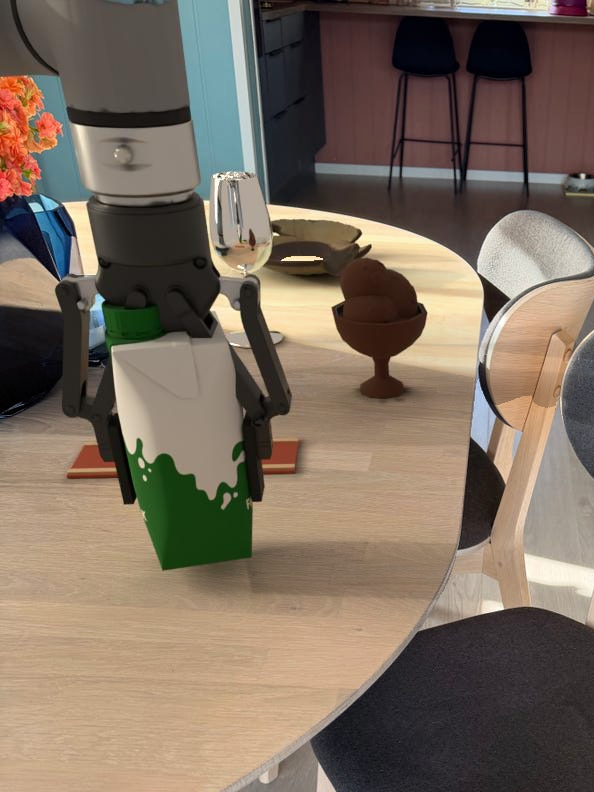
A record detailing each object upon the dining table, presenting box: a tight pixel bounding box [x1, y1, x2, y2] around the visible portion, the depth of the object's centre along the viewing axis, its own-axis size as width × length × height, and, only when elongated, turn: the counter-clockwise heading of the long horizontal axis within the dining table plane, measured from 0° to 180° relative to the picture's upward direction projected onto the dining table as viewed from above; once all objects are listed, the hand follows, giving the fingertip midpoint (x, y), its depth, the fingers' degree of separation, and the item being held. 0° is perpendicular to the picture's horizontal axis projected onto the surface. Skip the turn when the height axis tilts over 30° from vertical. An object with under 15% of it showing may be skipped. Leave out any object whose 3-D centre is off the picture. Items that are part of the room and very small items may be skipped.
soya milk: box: [100, 300, 254, 571], centre depth 72 cm, size 9×9×20 cm
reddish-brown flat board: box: [66, 437, 300, 479], centre depth 95 cm, size 22×8×1 cm, turn 95°
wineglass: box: [208, 171, 284, 349], centre depth 119 cm, size 8×8×20 cm
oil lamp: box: [262, 218, 373, 277], centre depth 150 cm, size 22×30×8 cm
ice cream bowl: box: [330, 257, 428, 399], centre depth 107 cm, size 11×11×15 cm
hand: (195, 495), depth 75 cm, fingers closed on soya milk, 9 cm apart
